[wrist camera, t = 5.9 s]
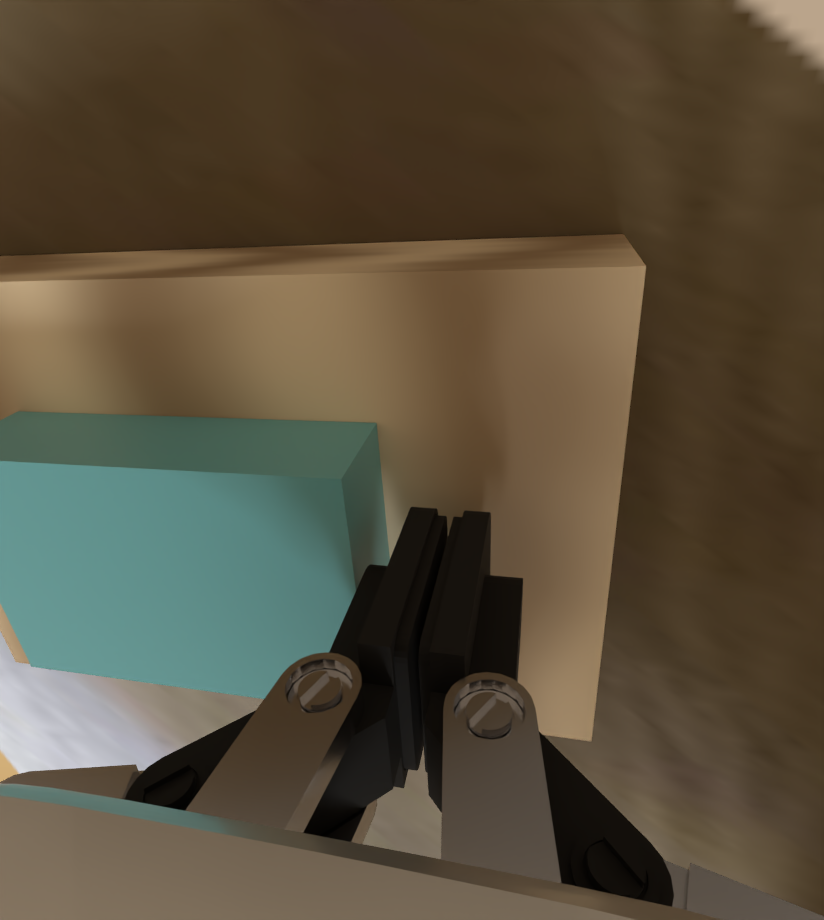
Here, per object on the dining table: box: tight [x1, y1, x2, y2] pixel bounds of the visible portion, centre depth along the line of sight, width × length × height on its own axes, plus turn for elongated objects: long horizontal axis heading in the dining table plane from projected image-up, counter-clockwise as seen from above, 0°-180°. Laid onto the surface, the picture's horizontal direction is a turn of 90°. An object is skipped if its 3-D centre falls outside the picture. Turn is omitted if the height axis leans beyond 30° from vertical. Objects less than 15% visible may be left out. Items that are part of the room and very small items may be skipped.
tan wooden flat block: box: [0, 234, 646, 741], centre depth 16 cm, size 18×12×4 cm, turn 94°
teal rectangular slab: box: [0, 411, 390, 699], centre depth 14 cm, size 9×6×2 cm, turn 93°
